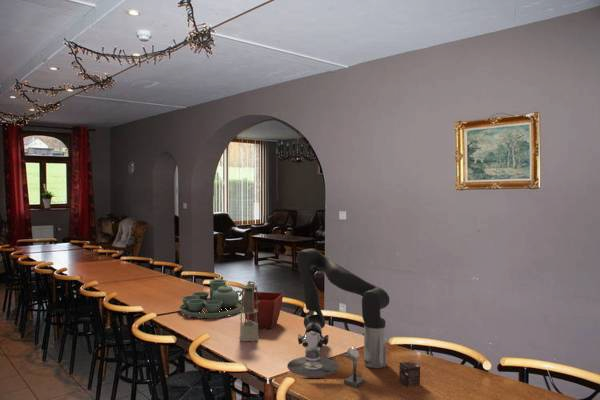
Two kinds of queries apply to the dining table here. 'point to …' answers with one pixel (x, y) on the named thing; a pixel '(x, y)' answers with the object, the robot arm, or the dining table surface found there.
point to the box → (409, 373)
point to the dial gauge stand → (353, 380)
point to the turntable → (313, 367)
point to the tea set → (212, 301)
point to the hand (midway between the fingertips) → (312, 345)
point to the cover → (312, 347)
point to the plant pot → (266, 309)
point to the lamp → (248, 327)
